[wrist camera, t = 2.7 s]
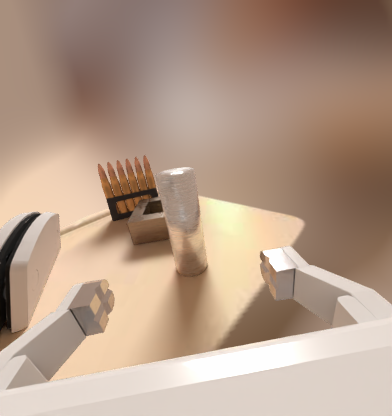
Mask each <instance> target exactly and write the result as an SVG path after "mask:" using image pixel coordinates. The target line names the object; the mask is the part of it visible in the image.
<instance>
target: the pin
mask: <svg viewBox="0 0 392 416" xmlns="http://www.w3.org/2000/svg"><path fill="white" fill-rule="evenodd" d="M155 176H156V181H157V185H158V190H159V194H160V199H161V203H162V207H163V212H164V216H165V221H166V225H167V229H168V234H169V238H170V242H171V247H172V251H173V256H174V260H175V264H176V269H177V271H178V273H179V274H181V275H183V276H196V275H198V274H200V273H202V272H203V271H204V270H205V269H206V267H207V256H206V249H205V242H204V235H203V228H202V221H201V214H200V206H199V199H198V192H197V185H196V178H195V172H194V169H193V168H175V169H170V170H166V171H163V172H160V173H158V174H156V175H155Z"/></svg>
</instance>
